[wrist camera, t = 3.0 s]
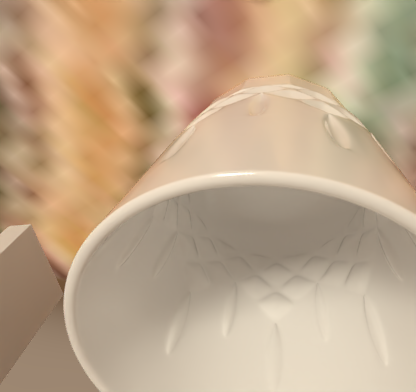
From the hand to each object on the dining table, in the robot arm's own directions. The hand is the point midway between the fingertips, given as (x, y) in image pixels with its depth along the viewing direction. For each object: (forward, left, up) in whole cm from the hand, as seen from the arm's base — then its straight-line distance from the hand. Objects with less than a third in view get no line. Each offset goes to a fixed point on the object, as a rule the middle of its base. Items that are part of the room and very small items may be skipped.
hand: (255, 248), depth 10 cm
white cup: (0, 0, -7) cm, 7 cm away
